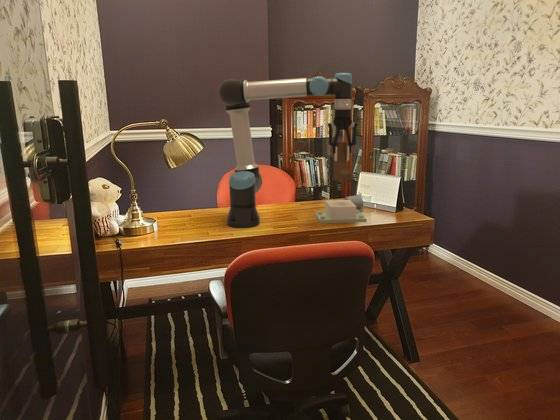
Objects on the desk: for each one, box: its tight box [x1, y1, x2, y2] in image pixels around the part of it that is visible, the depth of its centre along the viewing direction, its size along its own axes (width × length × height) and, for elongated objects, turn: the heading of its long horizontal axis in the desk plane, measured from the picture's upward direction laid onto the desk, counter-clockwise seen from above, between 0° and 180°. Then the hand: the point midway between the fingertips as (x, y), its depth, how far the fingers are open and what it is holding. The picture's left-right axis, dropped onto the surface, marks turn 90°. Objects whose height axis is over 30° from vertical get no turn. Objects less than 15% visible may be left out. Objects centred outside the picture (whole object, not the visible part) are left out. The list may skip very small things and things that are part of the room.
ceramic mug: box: [343, 194, 364, 213], centre depth 226 cm, size 11×8×8 cm
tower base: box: [314, 199, 368, 224], centre depth 212 cm, size 22×14×8 cm, turn 94°
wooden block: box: [332, 141, 352, 184], centre depth 206 cm, size 9×4×18 cm, turn 23°
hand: (341, 160), depth 206 cm, fingers closed on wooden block, 5 cm apart
